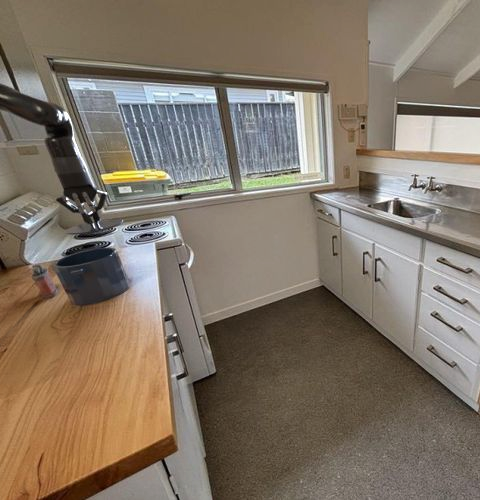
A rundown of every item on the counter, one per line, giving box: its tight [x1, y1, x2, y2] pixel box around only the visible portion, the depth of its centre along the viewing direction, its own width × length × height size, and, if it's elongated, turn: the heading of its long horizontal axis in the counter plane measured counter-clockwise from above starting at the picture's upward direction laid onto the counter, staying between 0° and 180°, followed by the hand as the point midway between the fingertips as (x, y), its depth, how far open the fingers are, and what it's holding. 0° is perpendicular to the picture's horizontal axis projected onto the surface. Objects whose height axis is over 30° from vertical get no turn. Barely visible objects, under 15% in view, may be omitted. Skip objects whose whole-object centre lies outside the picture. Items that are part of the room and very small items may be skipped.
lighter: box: [31, 263, 59, 300], centre depth 88 cm, size 8×3×10 cm, turn 40°
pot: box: [51, 247, 131, 307], centre depth 87 cm, size 15×20×12 cm
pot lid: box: [64, 210, 124, 236], centre depth 97 cm, size 16×16×6 cm
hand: (93, 222), depth 97 cm, fingers closed on pot lid, 1 cm apart
